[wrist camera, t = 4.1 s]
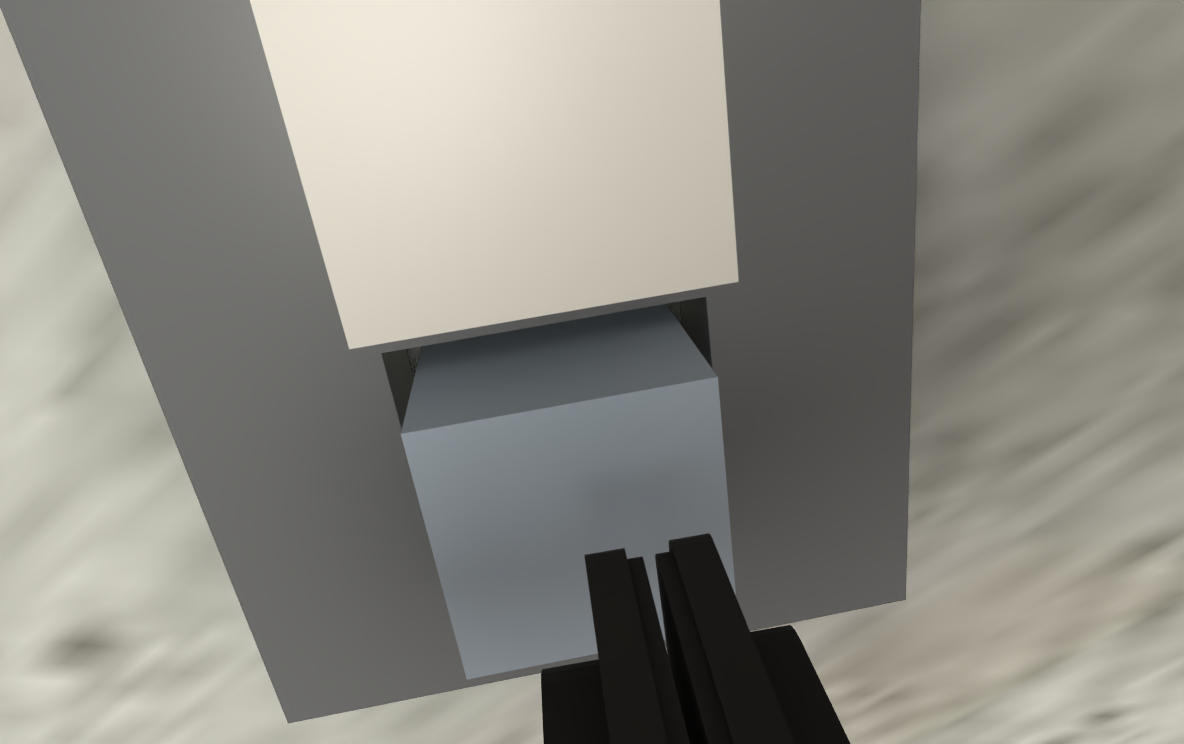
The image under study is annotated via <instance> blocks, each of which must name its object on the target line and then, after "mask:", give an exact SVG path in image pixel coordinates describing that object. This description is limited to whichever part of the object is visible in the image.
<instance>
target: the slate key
mask: <svg viewBox="0 0 1184 744" xmlns="http://www.w3.org/2000/svg"><path fill="white" fill-rule="evenodd" d="M401 437H402V441H403V445H404V448H405V452H406V456H407V460H408V463H409V467H410V471H411V474H412V478H413V482H414V486H415V489H416V493H417V497H418V500H419V504H420V508H421V511H422V515H423V519H424V523H425V526H426V530H427V534H428V537H429V541H430V545H431V549H432V552H433V556H434V560H435V563H436V567H437V571H438V575H439V578H440V582H441V586H442V589H443V593H444V597H445V601H446V604H447V608H448V612H449V615H450V619H451V623H452V626H453V630H454V634H455V638H456V641H457V645H458V649H459V652H460V656H461V660H462V664H463V667H464V671H465V675H466V678H467V679H472V678H477V677H482V676H487V675H492V674H497V673H502V672H507V671H512V670H517V669H523V668H528V667H533V666H538V665H543V664H548V663H553V662H558V661H563V660H568V659H573V658H578V657H583V656H588V655H593V654H598V651H597V643H596V636H595V629H594V622H593V615H592V607H591V600H590V593H589V586H588V578H587V571H586V564H585V556H584V555H587V554H592V553H598V552H604V551H610V550H615V549H621V548H625V552H626V556H627V559H629V558H635V557H641V556H642V557H643V559H644V563H645V567H646V571H647V575H648V579H649V583H650V587H651V591H652V595H653V599H654V603H655V607H656V611H657V615H658V619H659V623H660V627H661V631H662V635H663V639H664V640H666V638H665V630H664V623H663V615H662V607H661V600H660V592H659V584H658V577H657V569H656V561H655V554H658V553H664V552H669V540H673V539H679V538H684V537H690V536H696V535H702V534H707V533H709V534H710V535H711V536H712V538H713V541H714V543H715V546H716V548H717V551H718V553H719V556H720V558H721V561H722V563H723V565H724V568H725V570H726V573H727V575H728V578H729V580H730V583H731V585H732V588H733V590H734V593H735V595H736V590H735V578H734V566H733V554H732V541H731V529H730V517H729V505H728V493H727V481H726V469H725V457H724V445H723V433H722V421H721V409H720V397H719V385H718V377H717V375H716V374H715V372H714V371H713V369H712V368H711V367H710V365H709V364H708V362H707V361H706V360H705V358H704V357H703V355H702V354H701V353H700V351H699V350H698V348H697V347H696V345H695V344H694V343H693V341H692V340H691V338H690V337H689V336H688V334H687V333H686V331H685V330H684V329H683V327H682V326H681V324H680V323H679V322H678V320H677V319H676V317H675V316H674V314H673V313H672V312H671V310H670V309H669V307H668V306H667V305H666V304H662V305H656V306H650V307H644V308H639V309H633V310H627V311H621V312H616V313H610V314H604V315H598V316H593V317H587V318H581V319H576V320H570V321H564V322H558V323H553V324H547V325H541V326H535V327H530V328H524V329H518V330H512V331H507V332H501V333H495V334H489V335H484V336H478V337H472V338H466V339H461V340H455V341H449V342H443V343H438V344H432V345H426V346H422V347H421V352H420V356H419V360H418V364H417V368H416V372H415V376H414V381H413V385H412V389H411V393H410V397H409V401H408V406H407V410H406V414H405V418H404V422H403V426H402V431H401Z"/></svg>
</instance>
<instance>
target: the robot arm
mask: <svg viewBox="0 0 1184 744" xmlns="http://www.w3.org/2000/svg"><path fill="white" fill-rule="evenodd" d="M584 556H585V564H586V571H587V578H588V586H589V593H590V600H591V607H592V615H593V622H594V629H595V636H596V643H597V651H598V658H599V659H597V660H591V661H586V662H580V663H574V664H569V665H563V666H558V667H552V668H546V669H542V672H541V689H542V712H543V735H544V744H850V742H849V740H848V738H847V736H846V734H845V732H844V729H843V727H842V725H841V723H840V721H839V719H838V717H837V715H836V713H835V711H834V709H833V707H832V704H831V702H830V700H829V698H828V696H827V694H826V692H825V690H824V688H823V686H822V684H821V682H820V679H819V677H818V675H817V673H816V671H815V669H814V667H813V665H812V663H811V661H810V659H809V657H808V655H807V652H806V650H805V648H804V646H803V644H802V642H801V640H800V638H799V636H798V635H797V633H796V631H795V629H794V628H793V627H792V626H790V625H788V626H782V627H777V628H771V629H765V630H760V631H754V632H750V630H749V628H748V625H747V623H746V620H745V618H744V615H743V613H742V610H741V608H740V605H739V603H738V600H737V598H736V595H735V593H734V590H733V588H732V585H731V583H730V580H729V578H728V575H727V573H726V570H725V568H724V565H723V563H722V561H721V558H720V556H719V553H718V551H717V548H716V546H715V543H714V541H713V538H712V536H711V535H710V534H709V533H707V534H702V535H696V536H690V537H684V538H679V539H673V540H669V552H664V553H658V554H655V561H656V569H657V577H658V584H659V592H660V600H661V607H662V615H663V623H664V630H665V638H666V646H667V651H666V647H665V643H664V639H663V635H662V631H661V627H660V623H659V619H658V615H657V611H656V607H655V603H654V599H653V595H652V591H651V587H650V583H649V579H648V575H647V571H646V567H645V563H644V559H643V557H642V556H641V557H635V558H629V559H627V556H626V552H625V548H621V549H615V550H610V551H604V552H598V553H592V554H587V555H584ZM667 653H668V654H667Z"/></svg>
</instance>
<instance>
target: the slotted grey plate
mask: <svg viewBox="0 0 1184 744" xmlns="http://www.w3.org/2000/svg"><path fill="white" fill-rule="evenodd" d="M0 8H1V10H2V13H3V15H4V18H5V20H6V23H7V25H8V28H9V30H10V32H11V35H12V37H13V40H14V42H15V45H16V47H17V50H18V52H19V55H20V57H21V60H22V62H23V65H24V67H25V70H26V72H27V75H28V77H29V80H30V82H31V85H32V87H33V90H34V92H35V95H36V97H37V100H38V102H39V105H40V107H41V110H42V112H43V115H44V117H45V120H46V122H47V125H48V127H49V130H50V132H51V134H52V137H53V139H54V142H55V144H56V147H57V149H58V152H59V154H60V157H61V159H62V162H63V164H64V167H65V169H66V172H67V174H68V177H69V179H70V182H71V184H72V187H73V189H74V192H75V194H76V197H77V199H78V202H79V204H80V207H81V209H82V212H83V214H84V217H85V219H86V222H87V224H88V227H89V229H90V231H91V234H92V236H93V239H94V241H95V244H96V246H97V249H98V251H99V254H100V256H101V259H102V261H103V264H104V266H105V269H106V271H107V274H108V276H109V279H110V281H111V284H112V286H113V289H114V291H115V294H116V296H117V299H118V301H119V304H120V306H121V309H122V311H123V314H124V316H125V319H126V321H127V324H128V326H129V329H130V331H131V333H132V336H133V338H134V341H135V343H136V346H137V348H138V351H139V353H140V356H141V358H142V361H143V363H144V366H145V368H146V371H147V373H148V376H149V378H150V381H151V383H152V386H153V388H154V391H155V393H156V396H157V398H158V401H159V403H160V406H161V408H162V411H163V413H164V416H165V418H166V421H167V423H168V426H169V428H170V431H171V433H172V435H173V438H174V440H175V443H176V445H177V448H178V450H179V453H180V455H181V458H182V460H183V463H184V465H185V468H186V470H187V473H188V475H189V478H190V480H191V483H192V485H193V488H194V490H195V493H196V495H197V498H198V500H199V503H200V505H201V508H202V510H203V513H204V515H205V518H206V520H207V523H208V525H209V528H210V530H211V532H212V535H213V537H214V540H215V542H216V545H217V547H218V550H219V552H220V555H221V557H222V560H223V562H224V565H225V567H226V570H227V572H228V575H229V577H230V580H231V582H232V585H233V587H234V590H235V592H236V595H237V597H238V600H239V602H240V605H241V607H242V610H243V612H244V615H245V617H246V620H247V622H248V625H249V627H250V630H251V632H252V634H253V637H254V639H255V642H256V644H257V647H258V649H259V652H260V654H261V657H262V659H263V662H264V664H265V667H266V669H267V672H268V674H269V677H270V679H271V682H272V684H273V687H274V689H275V692H276V694H277V697H278V699H279V702H280V704H281V707H282V709H283V712H284V714H285V717H286V719H287V722H288V723H293V722H298V721H303V720H308V719H313V718H318V717H323V716H328V715H333V714H338V713H343V712H348V711H353V710H358V709H362V708H367V707H372V706H377V705H382V704H387V703H392V702H397V701H402V700H407V699H412V698H417V697H422V696H427V695H432V694H437V693H442V692H447V691H452V690H457V689H462V688H467V687H472V686H477V685H482V684H487V683H492V682H497V681H502V680H507V679H512V678H517V677H522V676H527V675H532V674H537V673H541V672H542V669H546V668H552V667H558V666H563V665H569V664H574V663H580V662H586V661H591V660H597V659H599V658H598V654H593V655H588V656H583V657H578V658H573V659H568V660H563V661H558V662H553V663H548V664H543V665H538V666H533V667H528V668H523V669H517V670H512V671H507V672H502V673H497V674H492V675H487V676H482V677H477V678H472V679H467V678H466V675H465V671H464V667H463V664H462V660H461V656H460V652H459V649H458V645H457V641H456V638H455V634H454V630H453V626H452V623H451V619H450V615H449V612H448V608H447V604H446V601H445V597H444V593H443V589H442V586H441V582H440V578H439V575H438V571H437V567H436V563H435V560H434V556H433V552H432V549H431V545H430V541H429V537H428V534H427V530H426V526H425V523H424V519H423V515H422V511H421V508H420V504H419V500H418V497H417V493H416V489H415V486H414V482H413V478H412V474H411V471H410V467H409V463H408V460H407V456H406V452H405V448H404V445H403V441H402V437H401V431H402V426H403V422H404V418H405V414H406V410H407V406H408V401H409V397H410V393H411V389H412V385H413V381H414V377H413V373H412V369H411V365H410V361H409V357H408V353H407V349H409V348H415V347H420V346H426V345H432V344H438V343H443V342H449V341H455V340H461V339H466V338H472V337H478V336H484V335H489V334H495V333H501V332H507V331H512V330H518V329H524V328H530V327H535V326H541V325H547V324H553V323H558V322H564V321H570V320H576V319H581V318H587V317H593V316H598V315H604V314H610V313H616V312H621V311H627V310H633V309H639V308H644V307H650V306H656V305H662V304H667V303H673V302H679V301H680V307H681V317H682V327H683V329H684V330H685V331H686V333H687V334H688V336H689V337H690V338H691V340H692V341H693V343H694V344H695V345H696V347H697V348H698V350H699V351H700V353H701V354H702V355H703V357H704V358H705V360H706V361H707V362H708V364H709V365H710V367H711V368H712V369H713V371H714V372H715V374H716V375H717V377H718V385H719V397H720V409H721V421H722V433H723V445H724V457H725V469H726V481H727V493H728V505H729V517H730V529H731V541H732V554H733V566H734V578H735V590H736V598H737V600H738V603H739V605H740V608H741V610H742V613H743V615H744V618H745V620H746V623H747V625H748V628H749V630H750V631H752V630H757V629H762V628H767V627H772V626H777V625H782V624H787V623H792V622H797V621H802V620H807V619H812V618H817V617H822V616H827V615H832V614H837V613H842V612H847V611H852V610H857V609H862V608H867V607H872V606H877V605H882V604H887V603H892V602H897V601H902V600H906V568H907V528H908V488H909V449H910V409H911V369H912V329H913V289H914V250H915V210H916V170H917V130H918V91H919V51H920V11H921V0H720V15H721V29H722V44H723V59H724V73H725V88H726V103H727V117H728V132H729V147H730V162H731V176H732V191H733V206H734V220H735V235H736V250H737V265H738V279H739V282H735V283H729V284H723V285H717V286H711V287H706V288H700V289H694V290H688V291H683V292H677V293H671V294H665V295H660V296H654V297H648V298H642V299H636V300H631V301H625V302H619V303H613V304H608V305H602V306H596V307H590V308H585V309H579V310H573V311H567V312H562V313H556V314H550V315H544V316H538V317H533V318H527V319H521V320H515V321H510V322H504V323H498V324H492V325H487V326H481V327H475V328H469V329H463V330H458V331H452V332H446V333H440V334H435V335H429V336H423V337H417V338H412V339H406V340H400V341H394V342H389V343H383V344H377V345H371V346H365V347H360V348H354V349H349V347H348V343H347V340H346V336H345V333H344V329H343V326H342V322H341V319H340V315H339V312H338V308H337V305H336V301H335V298H334V294H333V291H332V287H331V284H330V280H329V277H328V273H327V269H326V266H325V262H324V259H323V255H322V252H321V248H320V245H319V241H318V238H317V234H316V231H315V227H314V224H313V220H312V217H311V213H310V210H309V206H308V203H307V199H306V196H305V192H304V189H303V185H302V182H301V178H300V175H299V171H298V168H297V164H296V161H295V157H294V154H293V150H292V147H291V143H290V140H289V136H288V133H287V129H286V126H285V122H284V119H283V115H282V112H281V108H280V105H279V101H278V98H277V94H276V91H275V87H274V84H273V80H272V77H271V73H270V70H269V66H268V63H267V59H266V56H265V52H264V49H263V45H262V42H261V38H260V35H259V31H258V28H257V24H256V21H255V17H254V14H253V10H252V7H251V3H250V0H0ZM664 643H665V647H666V648H667V646H666V640H664Z"/></svg>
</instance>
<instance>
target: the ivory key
mask: <svg viewBox="0 0 1184 744" xmlns="http://www.w3.org/2000/svg"><path fill="white" fill-rule="evenodd" d="M250 3H251V7H252V10H253V14H254V17H255V21H256V24H257V28H258V31H259V35H260V38H261V42H262V45H263V49H264V52H265V56H266V59H267V63H268V66H269V70H270V73H271V77H272V80H273V84H274V87H275V91H276V94H277V98H278V101H279V105H280V108H281V112H282V115H283V119H284V122H285V126H286V129H287V133H288V136H289V140H290V143H291V147H292V150H293V154H294V157H295V161H296V164H297V168H298V171H299V175H300V178H301V182H302V185H303V189H304V192H305V196H306V199H307V203H308V206H309V210H310V213H311V217H312V220H313V224H314V227H315V231H316V234H317V238H318V241H319V245H320V248H321V252H322V255H323V259H324V262H325V266H326V269H327V273H328V277H329V280H330V284H331V287H332V291H333V294H334V298H335V301H336V305H337V308H338V312H339V315H340V319H341V322H342V326H343V329H344V333H345V336H346V340H347V343H348V347H349V349H354V348H360V347H365V346H371V345H377V344H383V343H389V342H394V341H400V340H406V339H412V338H417V337H423V336H429V335H435V334H440V333H446V332H452V331H458V330H463V329H469V328H475V327H481V326H487V325H492V324H498V323H504V322H510V321H515V320H521V319H527V318H533V317H538V316H544V315H550V314H556V313H562V312H567V311H573V310H579V309H585V308H590V307H596V306H602V305H608V304H613V303H619V302H625V301H631V300H636V299H642V298H648V297H654V296H660V295H665V294H671V293H677V292H683V291H688V290H694V289H700V288H706V287H711V286H717V285H723V284H729V283H735V282H739V279H738V265H737V250H736V235H735V220H734V206H733V191H732V176H731V162H730V147H729V132H728V117H727V103H726V88H725V73H724V59H723V44H722V29H721V15H720V0H250Z"/></svg>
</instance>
